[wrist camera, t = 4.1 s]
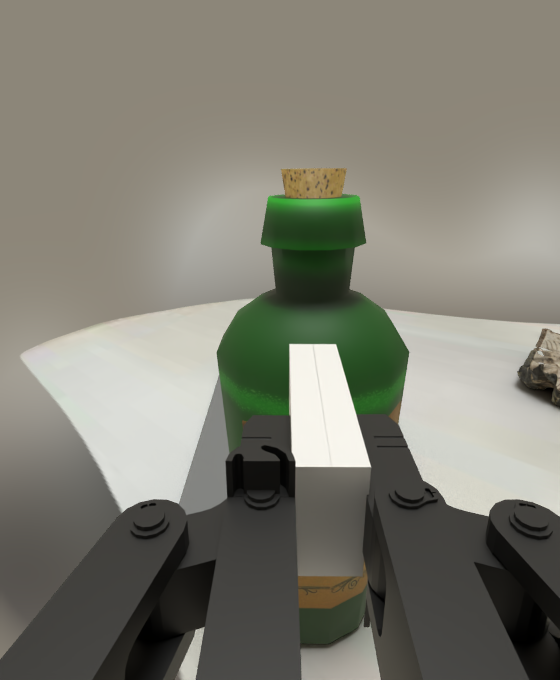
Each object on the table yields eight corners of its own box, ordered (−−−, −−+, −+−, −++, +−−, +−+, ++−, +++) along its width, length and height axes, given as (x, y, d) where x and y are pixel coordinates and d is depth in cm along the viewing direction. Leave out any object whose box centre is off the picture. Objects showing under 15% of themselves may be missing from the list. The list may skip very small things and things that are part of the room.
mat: (437, 524, 39) (438, 520, 39) (173, 524, 39) (173, 521, 39) (366, 356, 73) (367, 354, 72) (225, 357, 73) (225, 355, 73)
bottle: (312, 708, 26) (322, 171, 16) (201, 590, 33) (161, 170, 23) (416, 593, 33) (467, 166, 23) (305, 516, 40) (308, 167, 30)
